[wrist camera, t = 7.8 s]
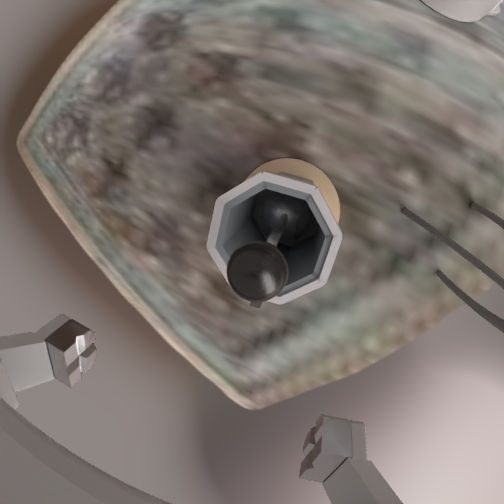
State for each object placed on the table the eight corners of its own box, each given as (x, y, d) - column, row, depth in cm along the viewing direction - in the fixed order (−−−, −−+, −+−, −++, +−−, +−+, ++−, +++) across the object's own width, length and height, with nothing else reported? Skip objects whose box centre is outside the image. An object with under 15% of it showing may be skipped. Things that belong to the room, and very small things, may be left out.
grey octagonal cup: (251, 146, 37) (214, 144, 23) (352, 175, 35) (373, 189, 22) (226, 248, 42) (184, 294, 28) (319, 276, 40) (318, 337, 27)
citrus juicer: (440, 276, 37) (550, 441, 9) (383, 248, 37) (479, 435, 9) (475, 204, 32) (643, 300, 5) (419, 169, 33) (608, 229, 5)
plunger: (266, 183, 34) (211, 218, 16) (317, 198, 33) (319, 250, 16) (253, 233, 36) (193, 310, 19) (302, 247, 35) (286, 341, 18)
